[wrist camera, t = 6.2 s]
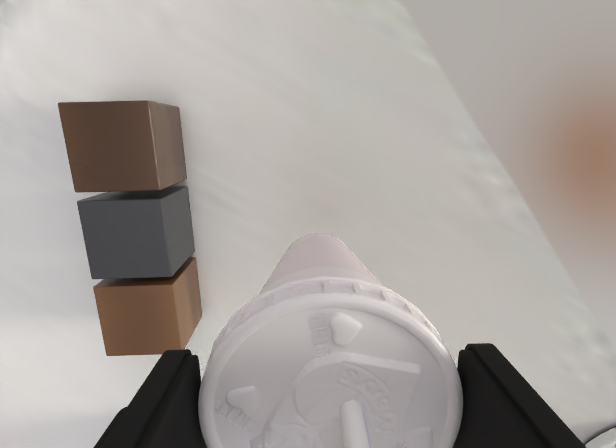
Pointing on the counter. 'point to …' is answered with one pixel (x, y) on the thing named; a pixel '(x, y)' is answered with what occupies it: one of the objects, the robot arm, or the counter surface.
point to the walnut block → (123, 145)
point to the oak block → (149, 312)
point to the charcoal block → (137, 232)
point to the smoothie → (329, 363)
